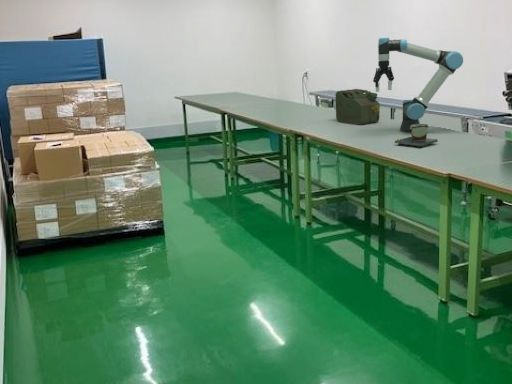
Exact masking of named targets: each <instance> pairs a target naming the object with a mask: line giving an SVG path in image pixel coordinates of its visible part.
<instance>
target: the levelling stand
mask: <svg viewBox="0 0 512 384" xmlns="http://www.w3.org/2000/svg"><path fill="white" fill-rule="evenodd" d="M437 142H439V141H438V138H430V137H429V138H428V137H426V140H421V141H412V136H409V137H404V138H397V139H395V140H394V144H397V145H398V146H405V145H409V146H416V147H415V148H418V149H419V148H420V149H421V148H423V147H424V146H426V145H429V144H430V145H431V144H433V143H437Z"/></svg>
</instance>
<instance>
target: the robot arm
mask: <svg viewBox="0 0 512 384" xmlns="http://www.w3.org/2000/svg"><path fill="white" fill-rule="evenodd" d="M377 50H378V52H377V53H378V56H377V57H378V65H377V66H378V67H376V68H375V73H374V75H373V76H374V77H373V80H372V81H373V83H374V84H375V93H379V92H380V80H381V78H382V76H383V75H386V77H387V90H388V91H392V90H393V87H392V85H393V81H394V79H395V77H394V73H393V70H392V66H390V52H397V53H402V54H405V55H408V56H409V55H410V56H412V57H413V56H414V57H416V58H419V59H420V58H421V59H423V60H428V61H431V62H433V63H434V64H437V65H438V69H437V70H436V72H435V73H434V74H433V76H432V77H430V80H428V82H427V83H426V85H425V86H424V87H423V89H422V90H421V91H420V93H419V95H418V96H415V97H413V99H403V101H402V121H401V124H400V127H399V131H400V132H404V133H411V129H410V126H411V125H413V124H421V123H420V119H421V118H423V116H424V115H425V112H426V110H427V109H428V107H429V105H428V104H429V103H430V101H431V100H432V99H433V97H434V96H435V94H436V93H437V92H438V91H439V89H441V87H442V85H443V84H444V83H445V82H446V80H447V79H448V78H449V76H451V75H453V74H454V73H455V72H456V70H457V69H459V68H461V67H462V66H463V63H464V57H463V55H462V54H461V53H460V52H458V51H455V50H454V51H452V50H450V51H447V50H441V49H439V50H436V49H432V48H428V47H424V46H421V45H418V44H417V45H416V44H413V43H410V42H408V40H407V39H404V38H403V39H391V40H390V37H379V38H378V43H377Z"/></svg>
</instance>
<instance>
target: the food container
mask: <svg viewBox="0 0 512 384" xmlns="http://www.w3.org/2000/svg"><path fill="white" fill-rule="evenodd" d="M410 129H411V132H410V133H411V134H410V135H411V136H410V137H412V141H421V140H426V138H428V137H427V135H428V129H429V124H428V123H420V124H413V125H411V126H410Z"/></svg>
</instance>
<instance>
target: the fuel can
mask: <svg viewBox="0 0 512 384" xmlns="http://www.w3.org/2000/svg"><path fill="white" fill-rule="evenodd" d="M377 99H378V93H377V92H371V91H370V90H367V89H362V88H361V89H360V88H353V89H345V90H337V91H336V93H335V118H336V121H337V122H339V123H343V124H351V125H355V126H361V125H368V124H367V123H369V124H374V122H375V123H378V122H379V121H380V110H381V109H380V108H381V107H380V102H379V101H378V100H377Z"/></svg>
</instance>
